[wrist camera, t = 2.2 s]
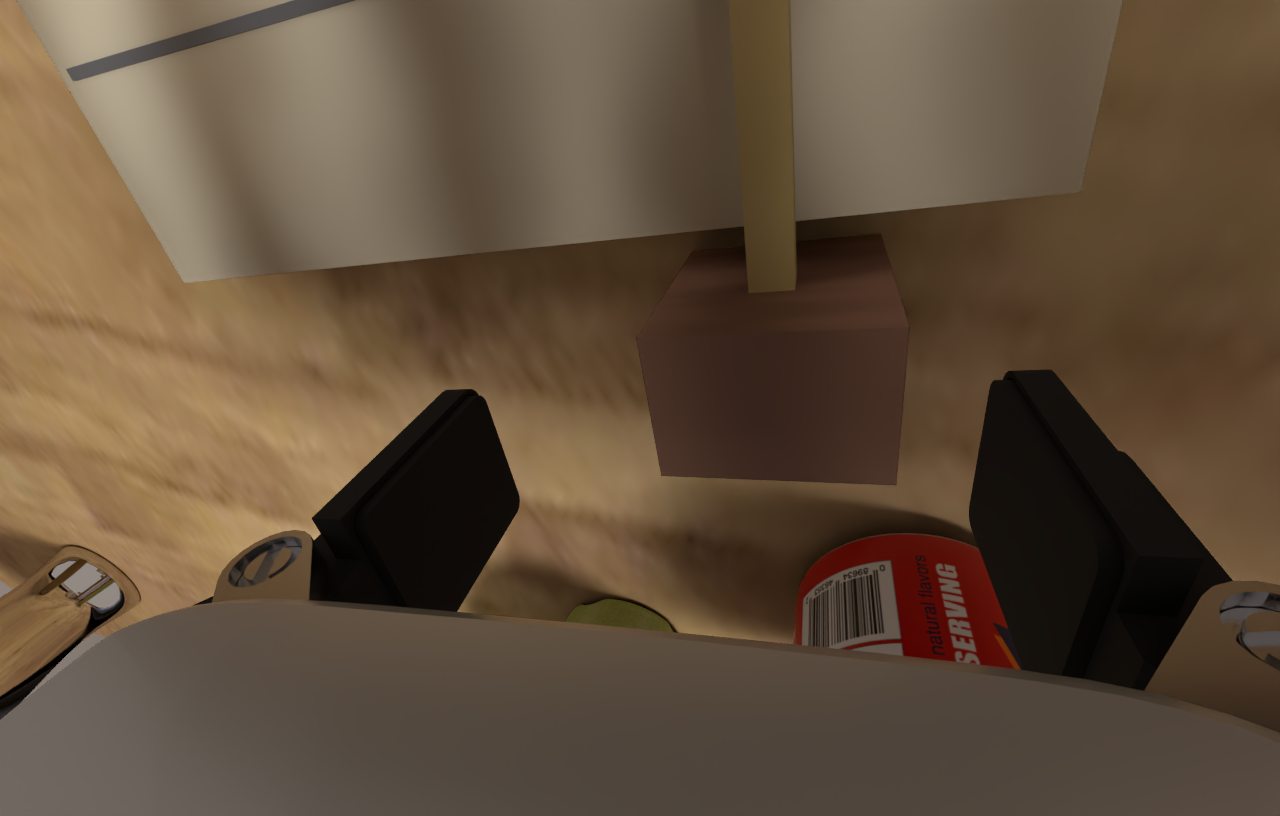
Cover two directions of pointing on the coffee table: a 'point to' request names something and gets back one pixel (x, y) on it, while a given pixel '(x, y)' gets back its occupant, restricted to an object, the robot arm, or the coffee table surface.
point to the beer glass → (56, 617)
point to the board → (553, 117)
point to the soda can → (905, 601)
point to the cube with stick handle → (776, 316)
